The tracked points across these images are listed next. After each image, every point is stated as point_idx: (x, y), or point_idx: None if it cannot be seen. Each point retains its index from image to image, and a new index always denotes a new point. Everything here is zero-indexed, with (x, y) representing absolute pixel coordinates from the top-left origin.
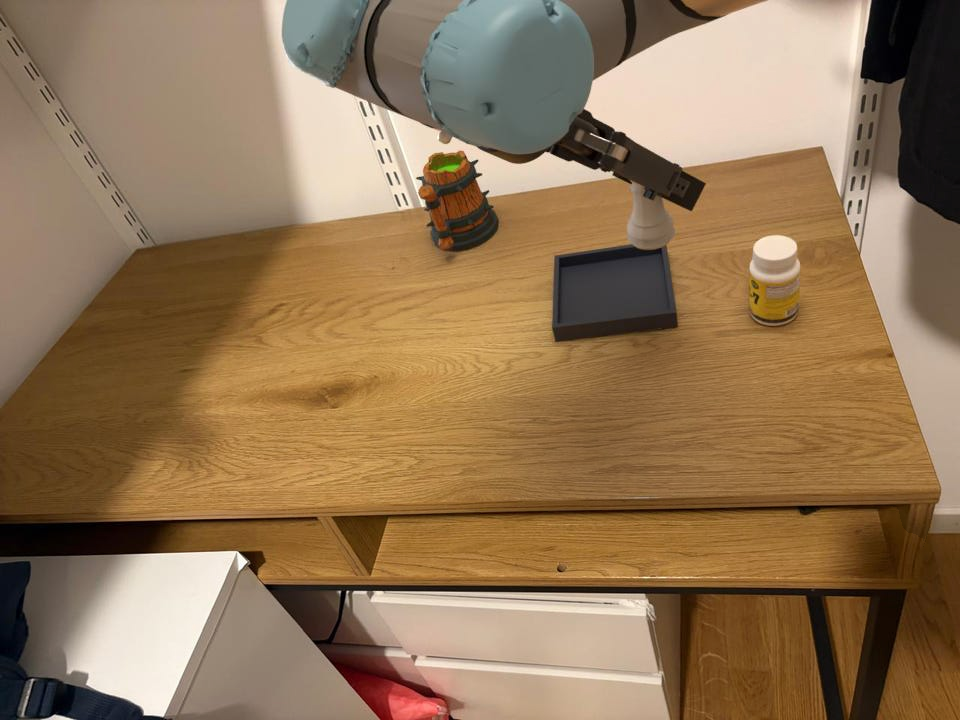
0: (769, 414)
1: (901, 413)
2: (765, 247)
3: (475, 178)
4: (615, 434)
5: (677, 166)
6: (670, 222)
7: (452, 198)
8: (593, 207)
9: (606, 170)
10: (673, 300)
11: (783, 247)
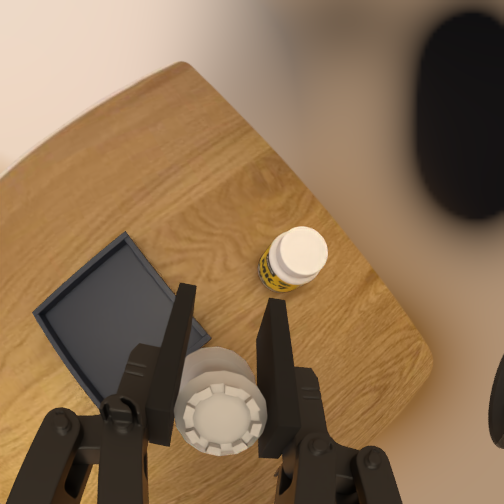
0: (345, 383)
1: (409, 322)
2: (296, 255)
3: None
4: (252, 476)
5: (391, 473)
6: (251, 378)
7: None
8: (24, 204)
9: (147, 465)
10: (196, 322)
11: (312, 246)
